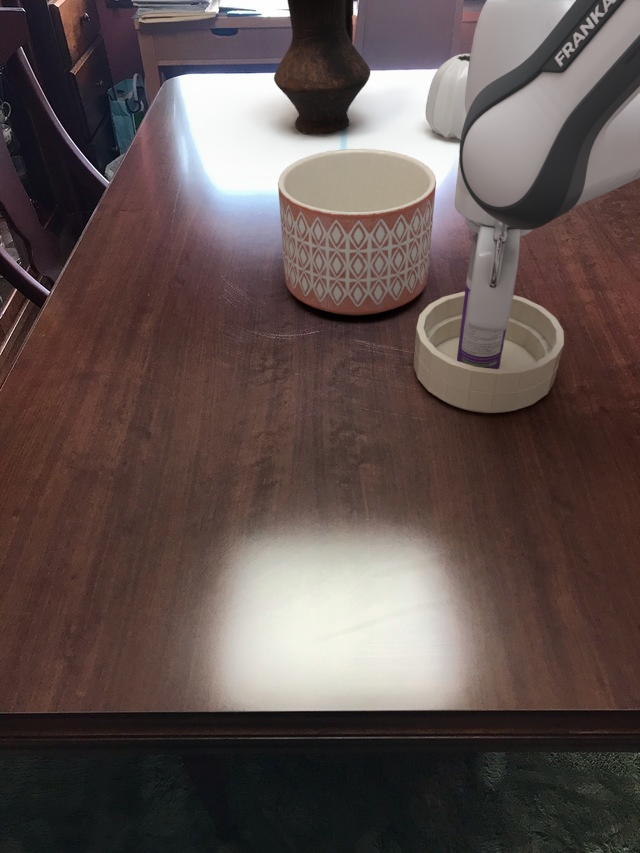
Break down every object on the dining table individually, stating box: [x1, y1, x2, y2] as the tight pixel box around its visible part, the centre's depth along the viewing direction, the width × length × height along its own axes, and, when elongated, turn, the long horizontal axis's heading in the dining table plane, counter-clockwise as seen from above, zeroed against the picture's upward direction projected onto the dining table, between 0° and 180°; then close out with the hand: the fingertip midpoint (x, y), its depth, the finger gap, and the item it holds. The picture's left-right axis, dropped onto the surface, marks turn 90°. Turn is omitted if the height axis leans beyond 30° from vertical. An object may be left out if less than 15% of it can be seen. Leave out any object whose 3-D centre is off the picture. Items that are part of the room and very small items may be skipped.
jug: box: [273, 0, 371, 135], centre depth 129 cm, size 21×18×30 cm
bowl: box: [413, 291, 565, 414], centre depth 77 cm, size 16×16×6 cm
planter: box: [277, 148, 437, 317], centre depth 89 cm, size 19×19×15 cm
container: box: [457, 232, 506, 369], centre depth 71 cm, size 5×5×15 cm
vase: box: [425, 53, 471, 141], centre depth 129 cm, size 14×14×13 cm
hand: (485, 317), depth 72 cm, fingers closed on container, 4 cm apart
